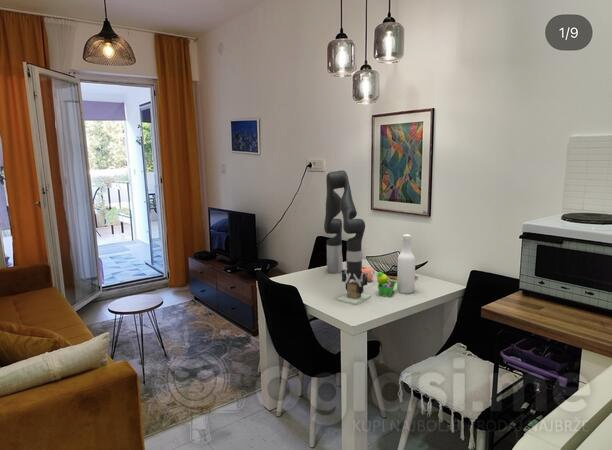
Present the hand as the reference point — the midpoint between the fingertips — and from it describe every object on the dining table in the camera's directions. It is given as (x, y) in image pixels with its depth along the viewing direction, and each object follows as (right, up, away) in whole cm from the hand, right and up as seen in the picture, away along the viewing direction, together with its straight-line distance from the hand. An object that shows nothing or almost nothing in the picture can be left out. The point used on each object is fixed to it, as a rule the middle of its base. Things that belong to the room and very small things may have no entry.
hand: (354, 291), depth 203 cm
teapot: (+9, +1, +32) cm, 33 cm away
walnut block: (0, -3, 0) cm, 3 cm away
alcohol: (+28, -2, +11) cm, 30 cm away
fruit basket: (+17, -2, +8) cm, 19 cm away
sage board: (0, -4, +1) cm, 4 cm away
